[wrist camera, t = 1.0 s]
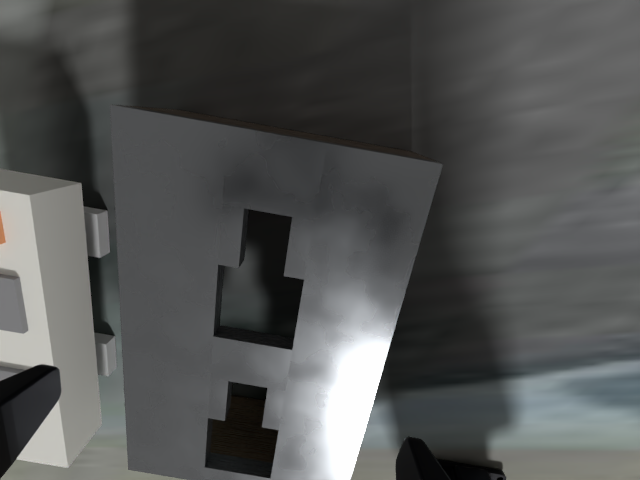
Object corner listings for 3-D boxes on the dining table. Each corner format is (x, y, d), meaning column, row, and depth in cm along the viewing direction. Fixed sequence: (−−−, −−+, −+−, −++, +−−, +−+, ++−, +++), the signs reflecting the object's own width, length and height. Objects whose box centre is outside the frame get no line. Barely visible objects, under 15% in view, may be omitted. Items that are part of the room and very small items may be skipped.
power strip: (126, 392, 27) (62, 475, 21) (73, 383, 27) (-8, 464, 21) (116, 174, 21) (19, 197, 14) (47, 162, 21) (-81, 180, 14)
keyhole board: (341, 425, 27) (342, 505, 21) (172, 396, 27) (128, 469, 21) (412, 151, 19) (443, 164, 14) (176, 109, 19) (109, 104, 14)
